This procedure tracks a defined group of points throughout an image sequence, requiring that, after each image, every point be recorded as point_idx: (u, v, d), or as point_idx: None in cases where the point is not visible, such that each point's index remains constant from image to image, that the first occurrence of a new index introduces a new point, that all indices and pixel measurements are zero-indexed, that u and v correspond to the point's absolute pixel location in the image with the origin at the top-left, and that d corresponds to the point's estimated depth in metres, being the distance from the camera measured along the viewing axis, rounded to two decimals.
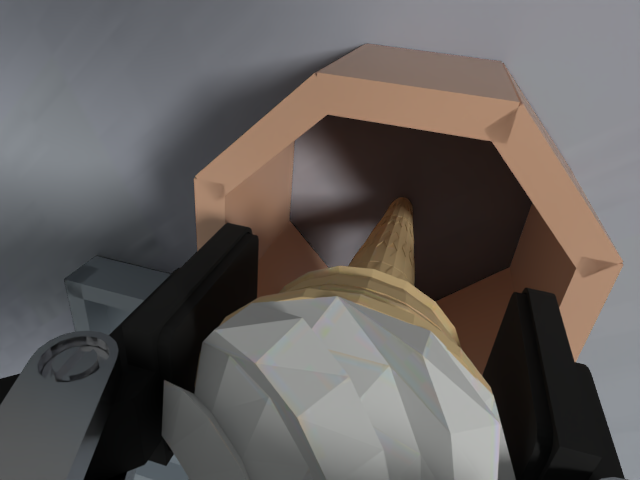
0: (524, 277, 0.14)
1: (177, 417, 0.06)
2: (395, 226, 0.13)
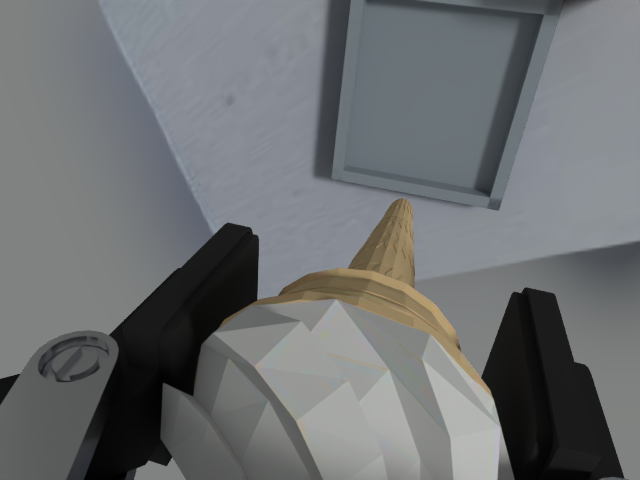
0: None
1: (176, 420, 0.06)
2: (395, 228, 0.13)
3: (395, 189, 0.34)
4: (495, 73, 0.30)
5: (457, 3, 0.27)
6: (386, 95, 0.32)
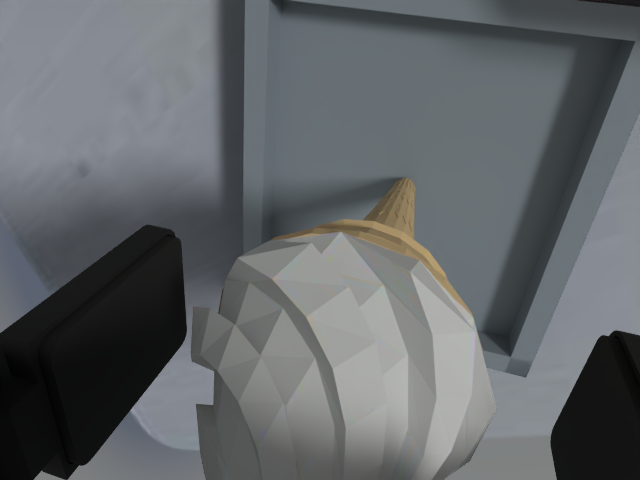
0: None
1: (205, 330, 0.08)
2: (397, 199, 0.14)
3: None
4: (524, 147, 0.16)
5: (451, 16, 0.13)
6: (327, 176, 0.18)
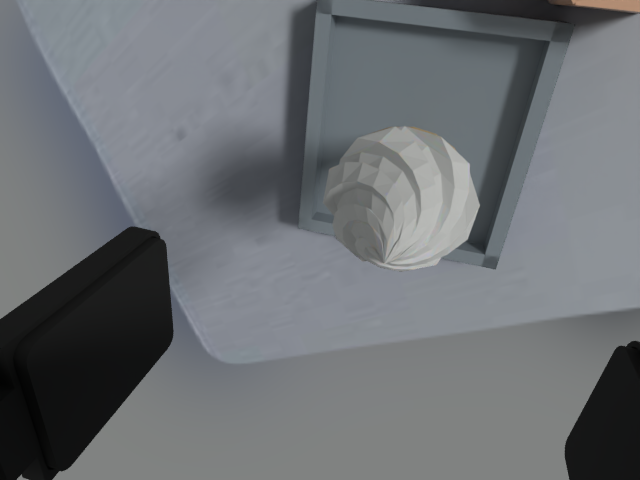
0: None
1: (343, 172, 0.16)
2: None
3: None
4: (490, 109, 0.25)
5: (444, 26, 0.22)
6: (361, 132, 0.27)
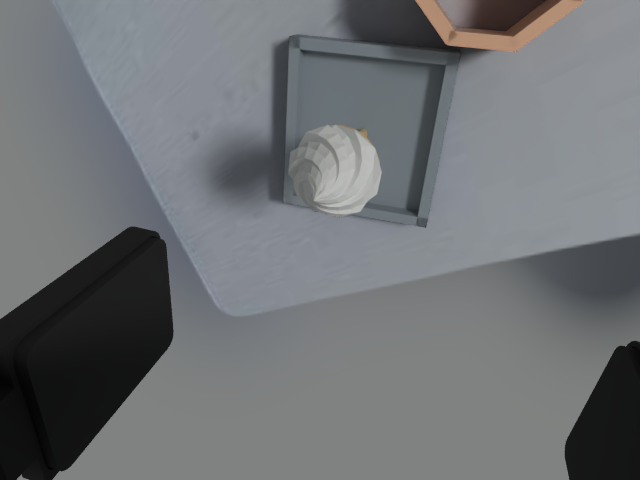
0: None
1: (297, 153, 0.27)
2: None
3: None
4: (414, 111, 0.35)
5: (375, 56, 0.33)
6: None
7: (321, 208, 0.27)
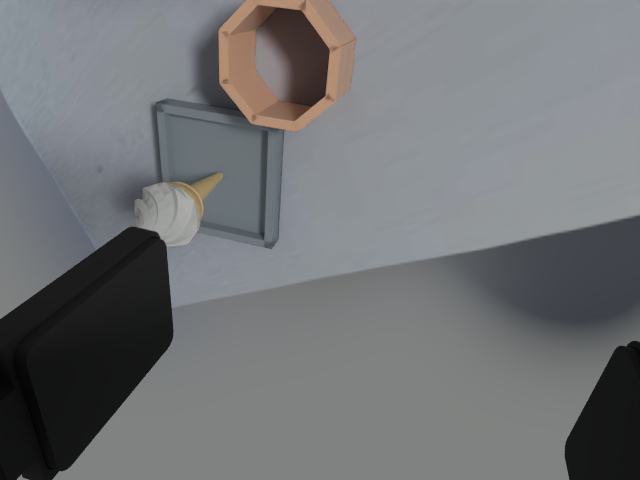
0: None
1: (136, 203, 0.37)
2: (206, 179, 0.44)
3: (206, 233, 0.49)
4: (255, 161, 0.45)
5: (218, 121, 0.43)
6: (194, 171, 0.48)
7: None
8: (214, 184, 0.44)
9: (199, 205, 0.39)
